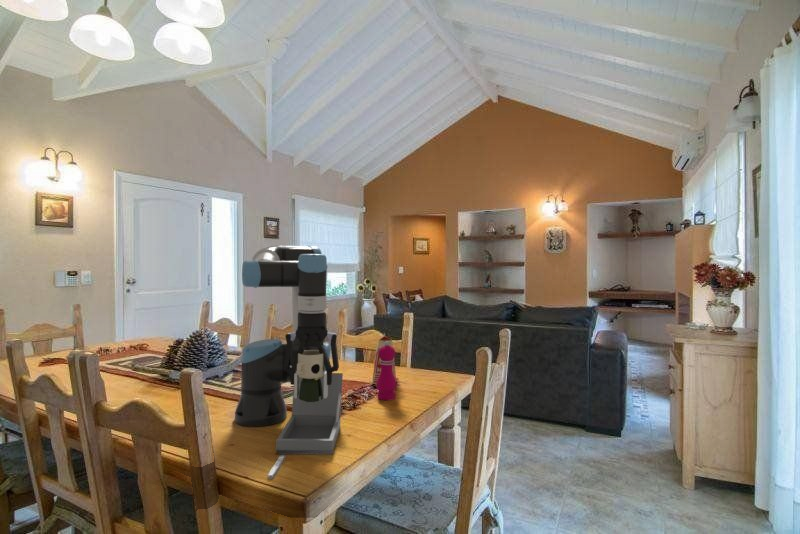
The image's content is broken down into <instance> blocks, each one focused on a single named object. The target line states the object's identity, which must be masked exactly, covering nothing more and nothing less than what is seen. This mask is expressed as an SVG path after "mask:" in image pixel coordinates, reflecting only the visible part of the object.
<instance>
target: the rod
mask: <svg viewBox="0 0 800 534" xmlns="http://www.w3.org/2000/svg"><path fill="white" fill-rule="evenodd" d="M286 457H287V454H279V457H278V458H277V460H276V461H275V463H274V464H273V466H272V467H271V469H270V471H269V472H268V473H267V479H268V480H269V479H270V480H273V479H274V478H275V476H276V475H277V473H278V471H279V470H280V468H281V467H282V464H284V462H285V460H286Z"/></svg>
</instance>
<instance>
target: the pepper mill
mask: <svg viewBox="0 0 800 534" xmlns="http://www.w3.org/2000/svg"><path fill="white" fill-rule="evenodd" d="M389 344H390V343H389V342H388V341H386V342H385V346H382V347H381V348H380V349H379V352H378V355H379V357H380V358H381V359H380V364H381V372H380V375H379V377H378V380H377V383H376V385H375V386H376V390H378V391H377V393H376V394H377V395H376V397H377V399H378V400H381V401H393V400H395V399H396V392H395V390H396V389H397V378H396V379H395V377H394V375H393V371H392V366H393V364H394V363H395V356H396V349H395V348H394V347H392V346H393V345H392V346H389ZM393 358H394V359H393Z"/></svg>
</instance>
